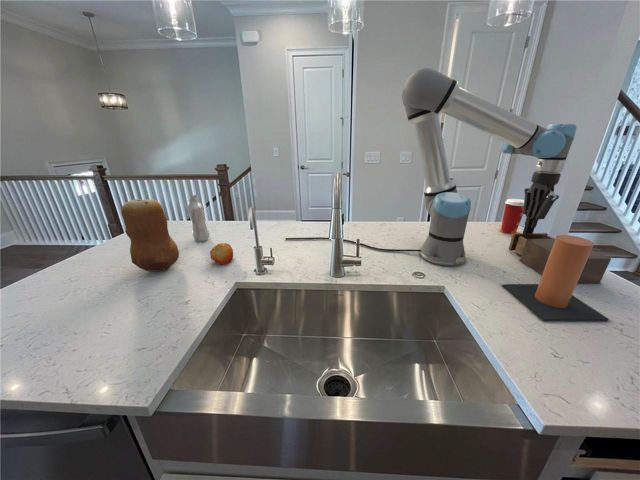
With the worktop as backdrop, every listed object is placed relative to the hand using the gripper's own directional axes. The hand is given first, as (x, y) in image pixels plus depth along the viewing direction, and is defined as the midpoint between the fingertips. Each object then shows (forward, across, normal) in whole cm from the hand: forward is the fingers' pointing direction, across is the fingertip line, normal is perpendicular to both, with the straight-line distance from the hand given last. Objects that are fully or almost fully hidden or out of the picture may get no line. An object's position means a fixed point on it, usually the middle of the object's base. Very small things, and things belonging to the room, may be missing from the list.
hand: (527, 234), depth 100 cm
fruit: (+7, +7, -116) cm, 116 cm away
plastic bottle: (+7, -14, -133) cm, 134 cm away
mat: (+7, +33, -16) cm, 38 cm away
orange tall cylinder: (+6, +33, -16) cm, 37 cm away
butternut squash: (+7, +12, -137) cm, 138 cm away
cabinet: (+7, +16, 0) cm, 18 cm away
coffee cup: (+7, -21, +8) cm, 23 cm away
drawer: (+6, +6, 0) cm, 8 cm away
